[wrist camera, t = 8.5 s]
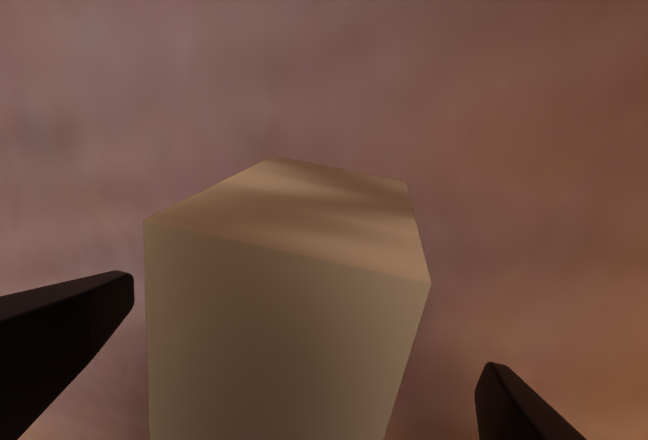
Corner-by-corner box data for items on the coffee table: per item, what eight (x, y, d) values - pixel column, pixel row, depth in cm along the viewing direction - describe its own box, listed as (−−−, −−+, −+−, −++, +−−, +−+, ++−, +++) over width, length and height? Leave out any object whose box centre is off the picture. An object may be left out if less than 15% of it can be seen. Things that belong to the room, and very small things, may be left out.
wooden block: (405, 181, 10) (431, 284, 4) (358, 367, 12) (337, 586, 7) (273, 155, 10) (143, 220, 5) (253, 341, 13) (151, 527, 7)
